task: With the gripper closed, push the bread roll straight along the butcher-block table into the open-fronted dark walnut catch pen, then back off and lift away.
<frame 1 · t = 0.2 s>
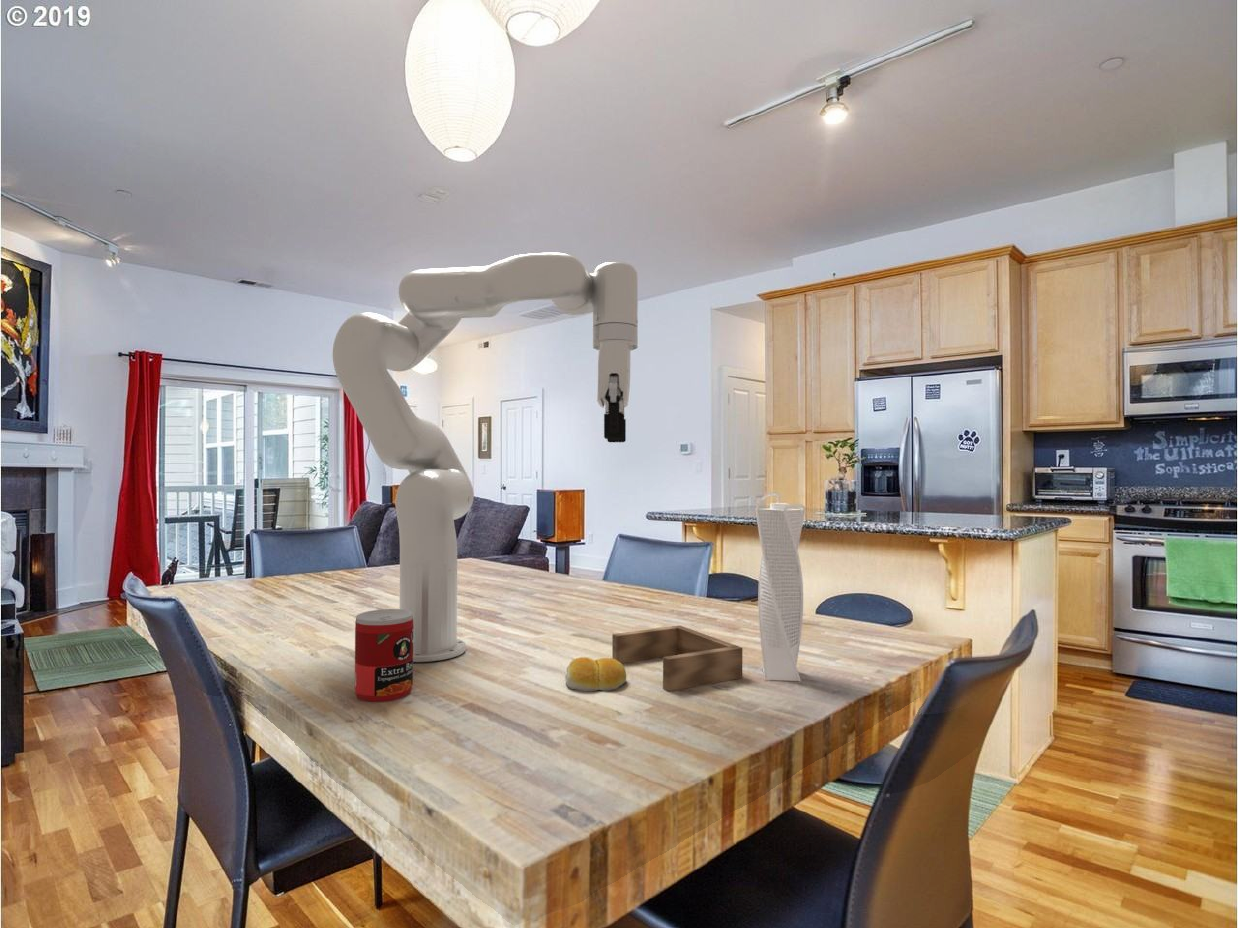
hand: (615, 440, 109), 37 cm above the table, tool pointing down, fingers open, 9 cm apart
catch pen: (671, 669, 102), on the table
bread roll: (594, 685, 95), on the table
canned food: (384, 694, 91), on the table
skyscraper: (780, 675, 100), on the table
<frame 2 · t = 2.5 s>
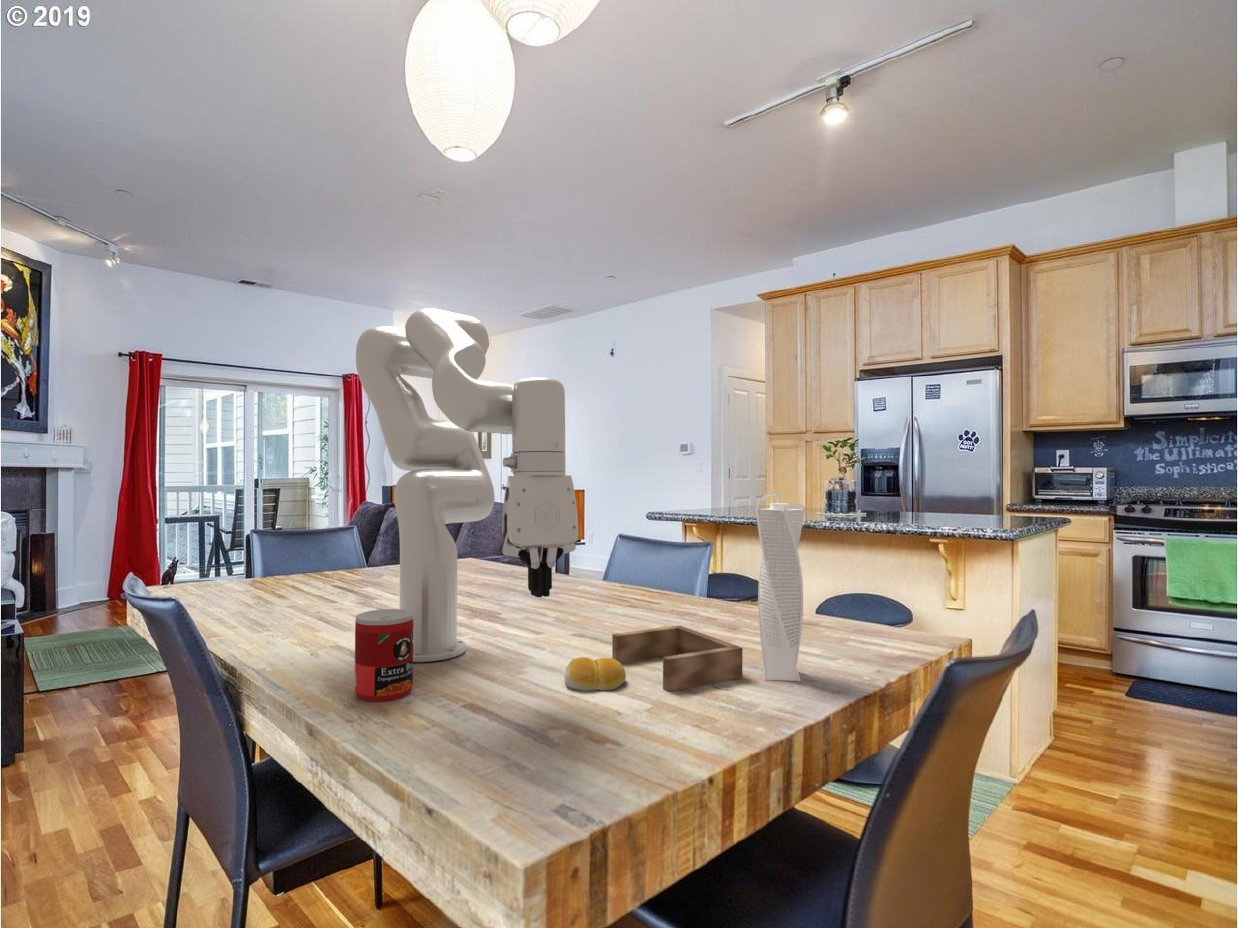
hand: (540, 595, 91), 14 cm above the table, tool pointing down, fingers closed
nothing on the table moved.
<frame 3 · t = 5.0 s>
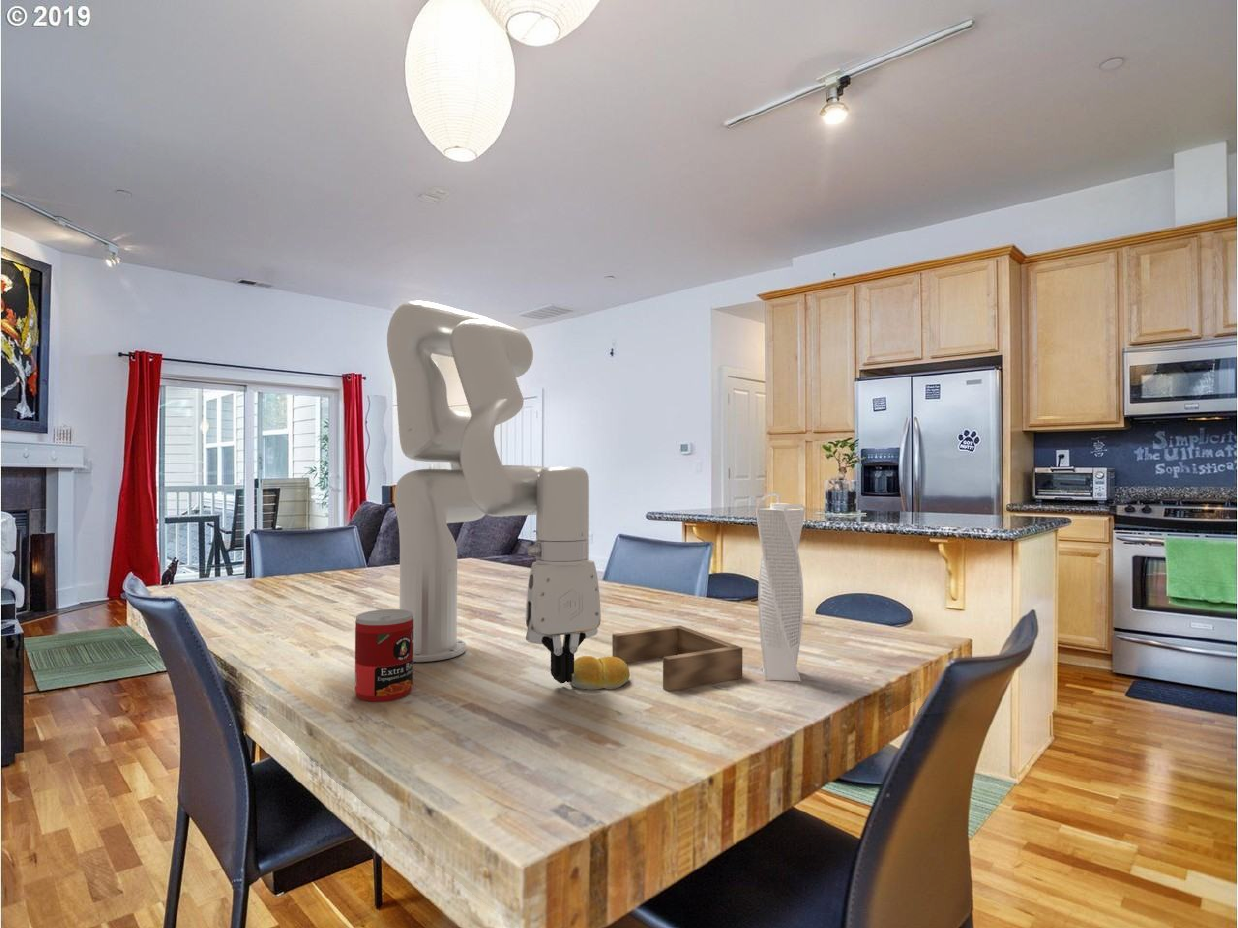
hand: (562, 679, 93), 1 cm above the table, tool pointing down, fingers closed
bread roll: (597, 684, 96), on the table, touching gripper
everything else where it was.
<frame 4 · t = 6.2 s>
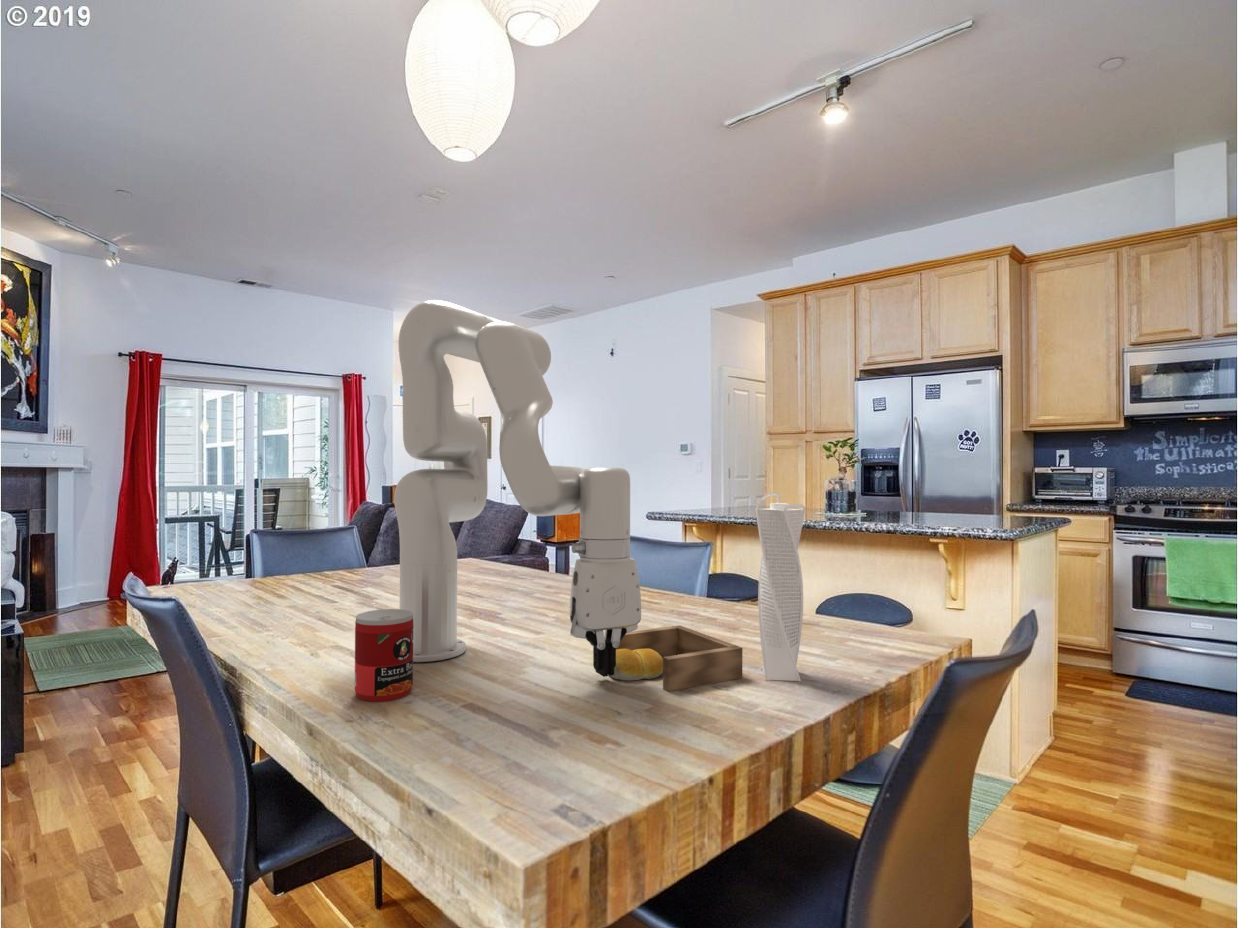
hand: (604, 673, 96), 1 cm above the table, tool pointing down, fingers closed
bread roll: (634, 675, 100), on the table, touching gripper
everything else where it was.
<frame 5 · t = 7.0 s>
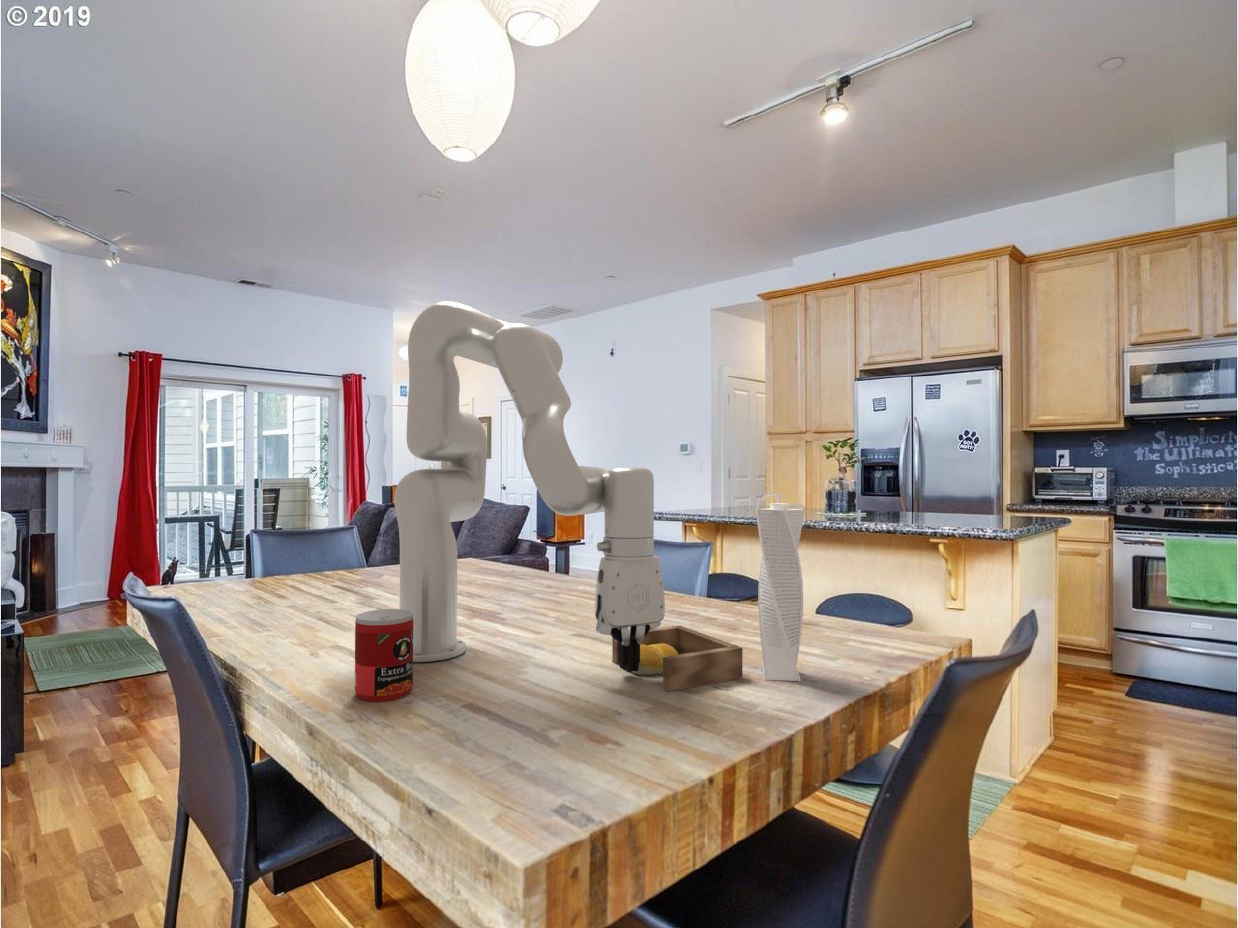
hand: (628, 669, 98), 1 cm above the table, tool pointing down, fingers closed
bread roll: (651, 669, 103), on the table, touching gripper
everything else where it was.
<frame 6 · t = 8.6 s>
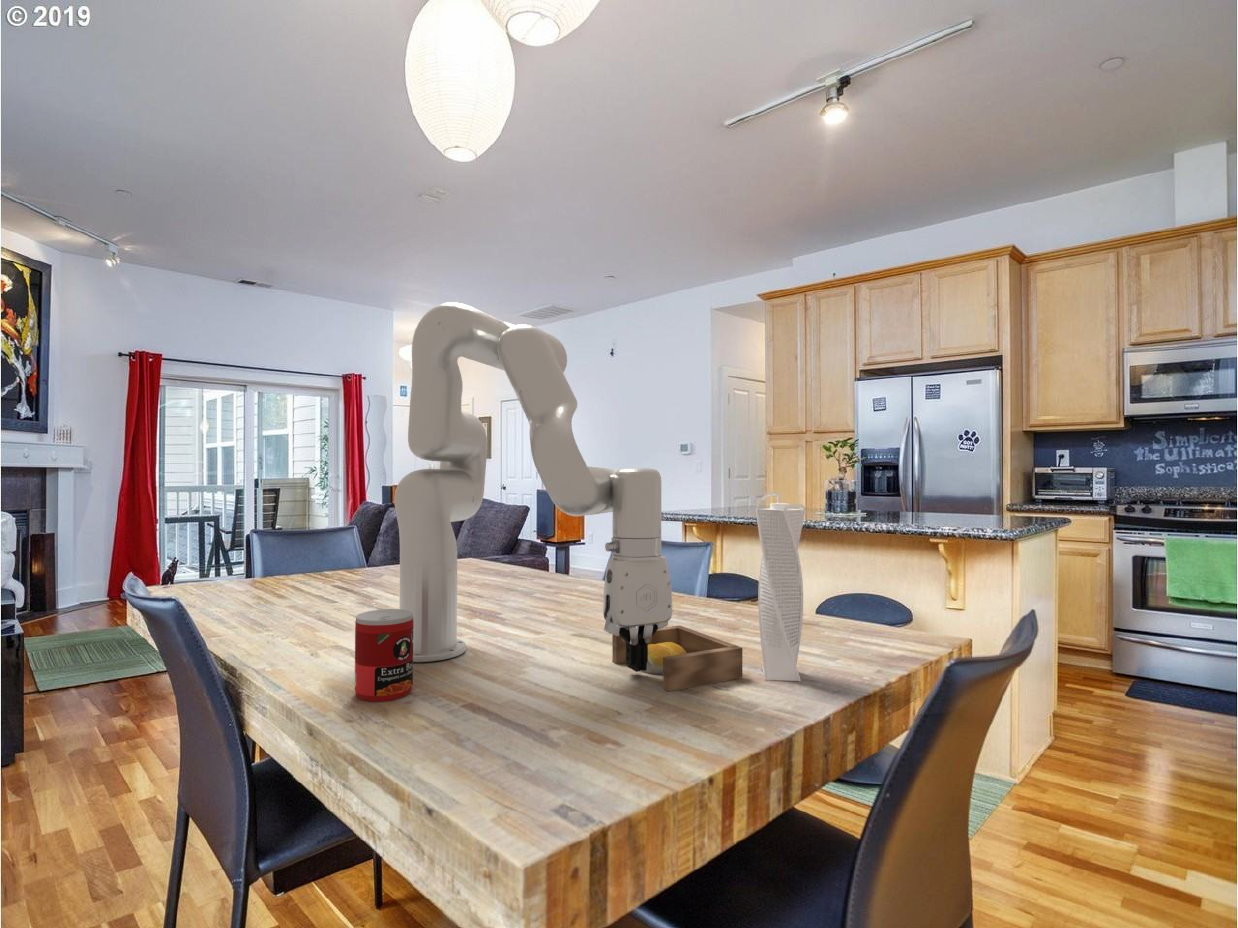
hand: (636, 668, 99), 1 cm above the table, tool pointing down, fingers closed
bread roll: (660, 668, 104), on the table
everything else where it was.
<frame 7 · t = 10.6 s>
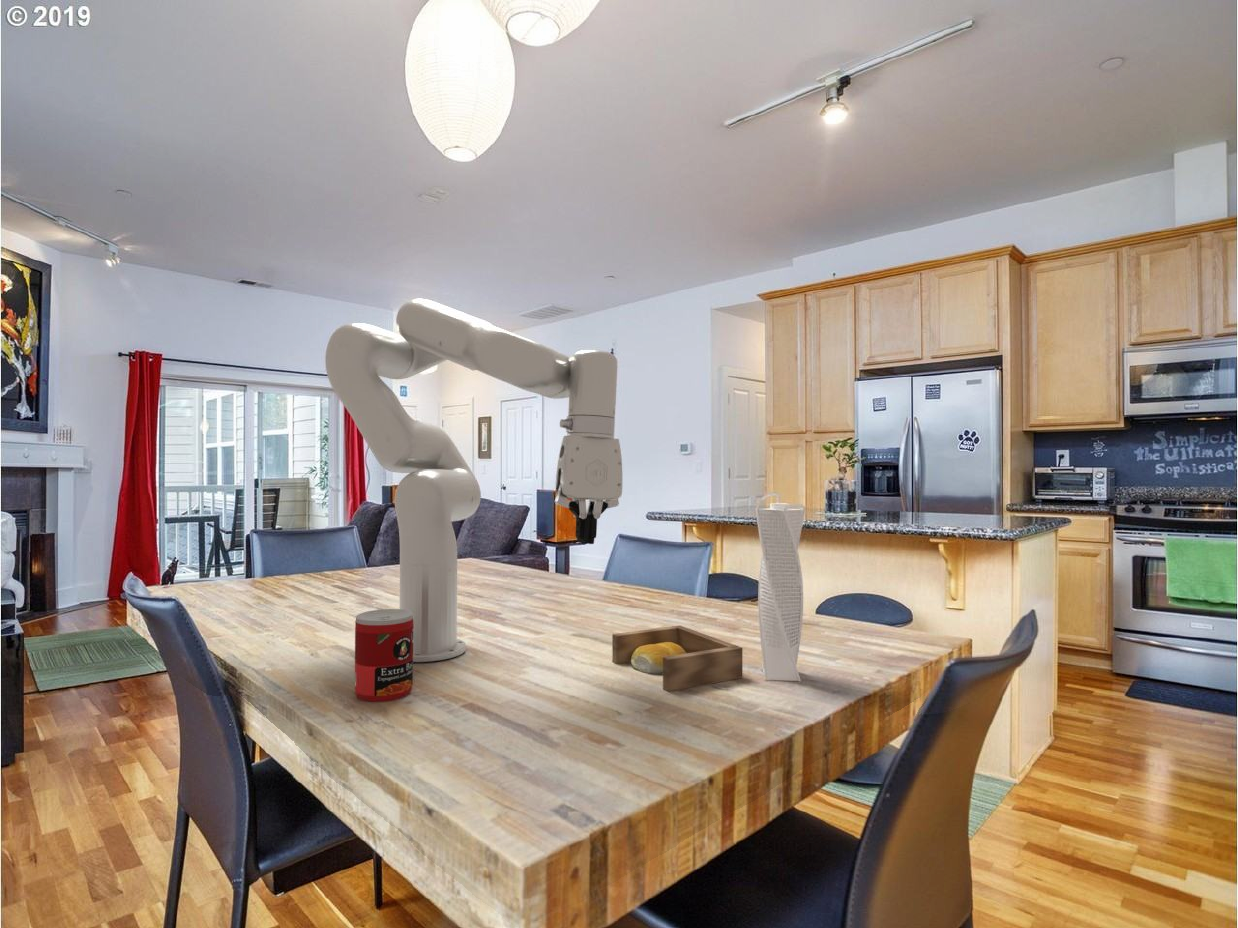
hand: (585, 542, 104), 20 cm above the table, tool pointing down, fingers closed
nothing on the table moved.
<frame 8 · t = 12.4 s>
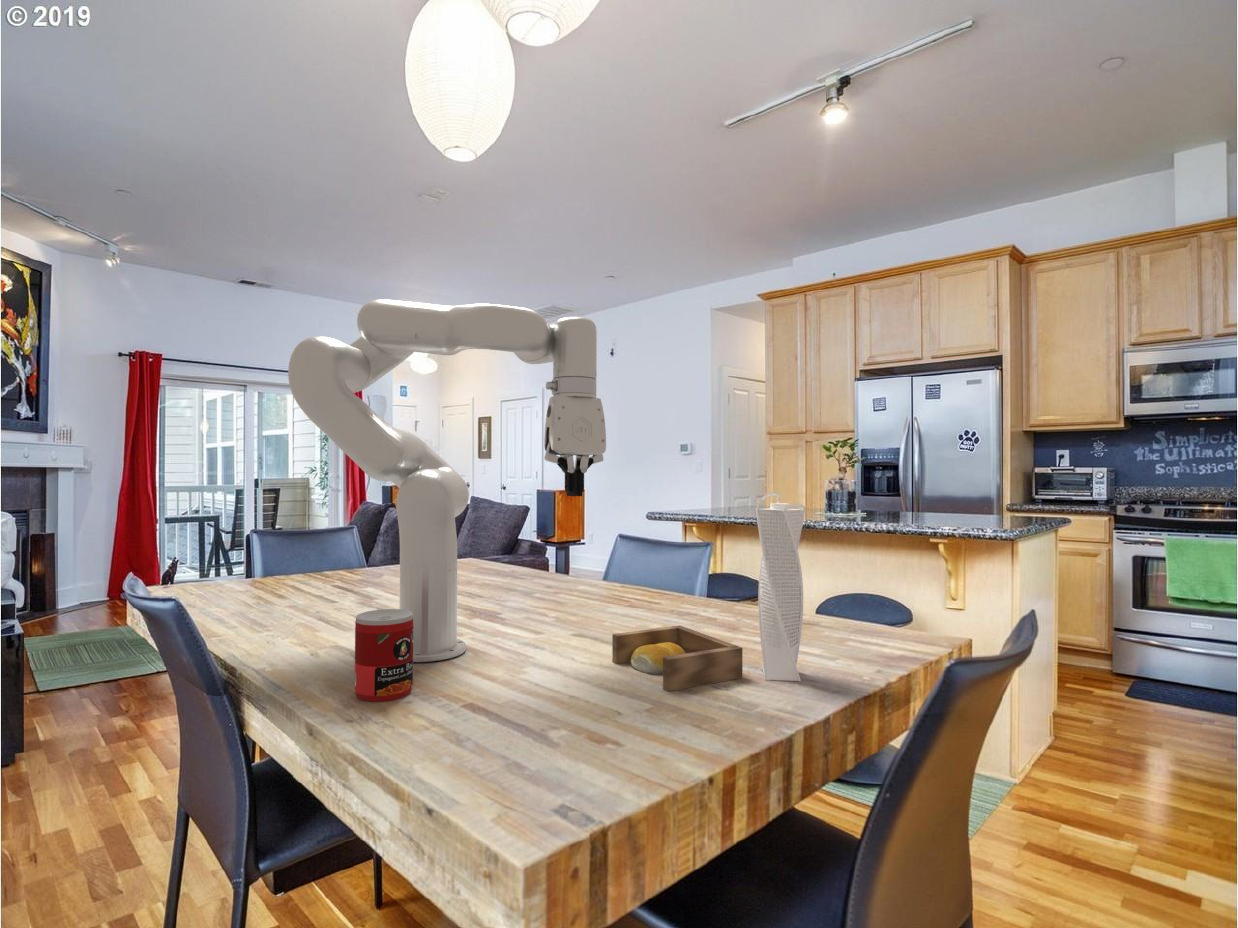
hand: (574, 495, 112), 27 cm above the table, tool pointing down, fingers closed
nothing on the table moved.
at the end: bread roll inside the target area on the catch pen (3.0 cm from its centre), point -0.5 cm above the catch pen's base; bread roll moved 13.2 cm from its start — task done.
